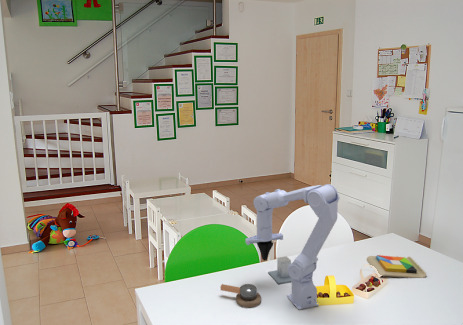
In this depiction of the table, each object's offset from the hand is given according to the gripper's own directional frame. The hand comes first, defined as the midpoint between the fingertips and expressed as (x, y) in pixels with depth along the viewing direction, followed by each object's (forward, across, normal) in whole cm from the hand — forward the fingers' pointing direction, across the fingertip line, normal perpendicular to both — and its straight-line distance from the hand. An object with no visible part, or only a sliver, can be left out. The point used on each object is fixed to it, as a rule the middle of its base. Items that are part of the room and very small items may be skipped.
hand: (264, 259), depth 158 cm
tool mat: (+10, -10, -3) cm, 15 cm away
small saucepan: (+9, +13, +7) cm, 17 cm away
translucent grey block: (+10, -10, -3) cm, 14 cm away
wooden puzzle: (+11, -56, +6) cm, 57 cm away
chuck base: (+10, +10, +9) cm, 17 cm away
